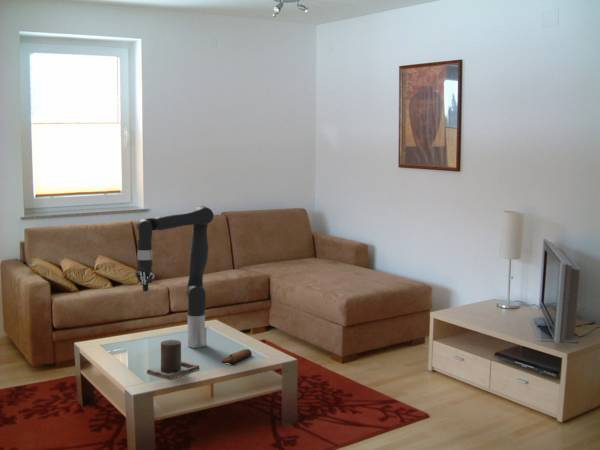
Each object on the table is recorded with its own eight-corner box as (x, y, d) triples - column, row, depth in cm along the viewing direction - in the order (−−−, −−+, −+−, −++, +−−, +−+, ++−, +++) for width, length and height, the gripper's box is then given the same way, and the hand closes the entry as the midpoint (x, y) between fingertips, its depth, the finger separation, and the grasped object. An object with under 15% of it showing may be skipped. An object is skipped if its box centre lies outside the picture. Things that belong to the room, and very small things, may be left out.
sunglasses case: (237, 353, 371) (243, 343, 369) (247, 361, 369) (253, 351, 367) (218, 363, 355) (224, 352, 353) (228, 371, 353) (234, 361, 351)
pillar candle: (174, 374, 338) (174, 343, 336) (156, 371, 342) (156, 340, 340) (185, 368, 347) (185, 338, 345) (167, 365, 351) (167, 336, 349)
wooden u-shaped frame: (147, 372, 340) (147, 369, 339) (175, 362, 355) (175, 359, 355) (171, 379, 331) (171, 376, 331) (199, 368, 346) (199, 365, 346)
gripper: (130, 257, 369) (131, 290, 371) (148, 260, 361) (149, 294, 363) (141, 256, 375) (142, 288, 377) (159, 258, 367) (159, 291, 369)
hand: (145, 291), depth 370 cm, fingers closed
